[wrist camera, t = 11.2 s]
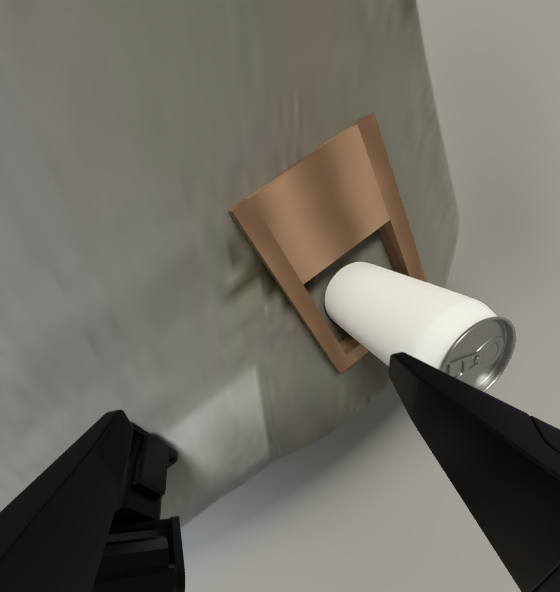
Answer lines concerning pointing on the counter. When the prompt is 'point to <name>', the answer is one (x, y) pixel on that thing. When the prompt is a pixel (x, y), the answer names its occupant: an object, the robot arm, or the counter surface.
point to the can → (420, 323)
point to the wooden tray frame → (328, 223)
